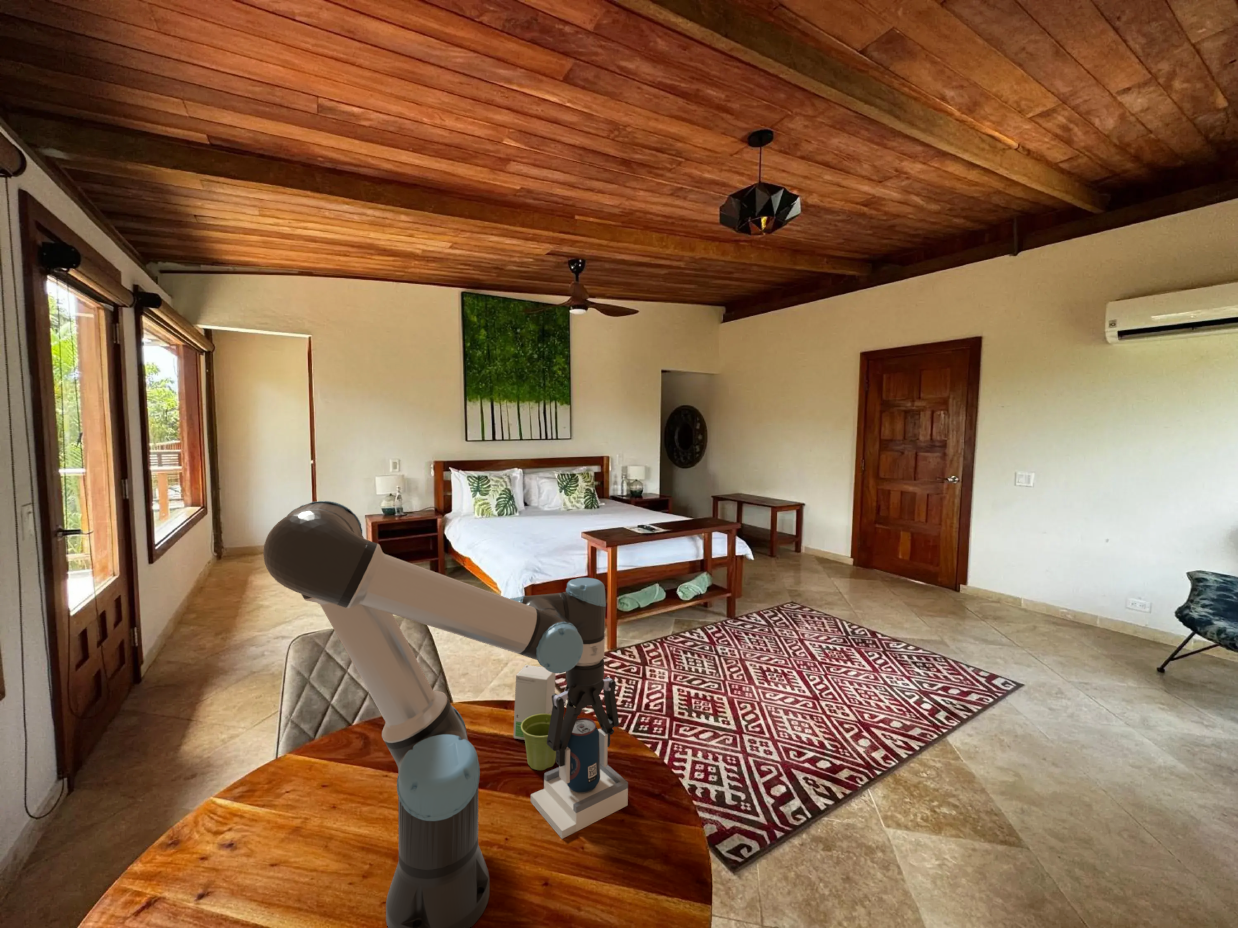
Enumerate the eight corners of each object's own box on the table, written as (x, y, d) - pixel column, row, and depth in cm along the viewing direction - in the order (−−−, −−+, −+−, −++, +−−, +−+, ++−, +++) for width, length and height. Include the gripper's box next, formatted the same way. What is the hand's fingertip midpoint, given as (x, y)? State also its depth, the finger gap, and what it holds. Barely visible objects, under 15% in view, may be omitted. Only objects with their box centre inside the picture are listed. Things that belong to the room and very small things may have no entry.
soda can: (558, 782, 106) (556, 724, 105) (587, 767, 110) (585, 712, 109) (578, 801, 100) (576, 740, 99) (607, 785, 104) (606, 726, 104)
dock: (561, 838, 95) (562, 813, 95) (530, 801, 105) (530, 778, 105) (627, 805, 104) (628, 782, 104) (593, 773, 114) (593, 752, 114)
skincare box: (512, 738, 127) (513, 675, 126) (523, 724, 133) (524, 663, 132) (545, 743, 125) (546, 679, 124) (555, 729, 131) (556, 667, 130)
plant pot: (566, 751, 122) (567, 714, 121) (558, 777, 113) (558, 737, 112) (527, 748, 123) (527, 711, 122) (515, 773, 113) (515, 734, 113)
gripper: (547, 679, 94) (546, 802, 96) (638, 652, 107) (636, 761, 108) (528, 664, 100) (526, 780, 102) (616, 640, 113) (614, 744, 114)
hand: (583, 770), depth 105 cm, fingers open, 8 cm apart
